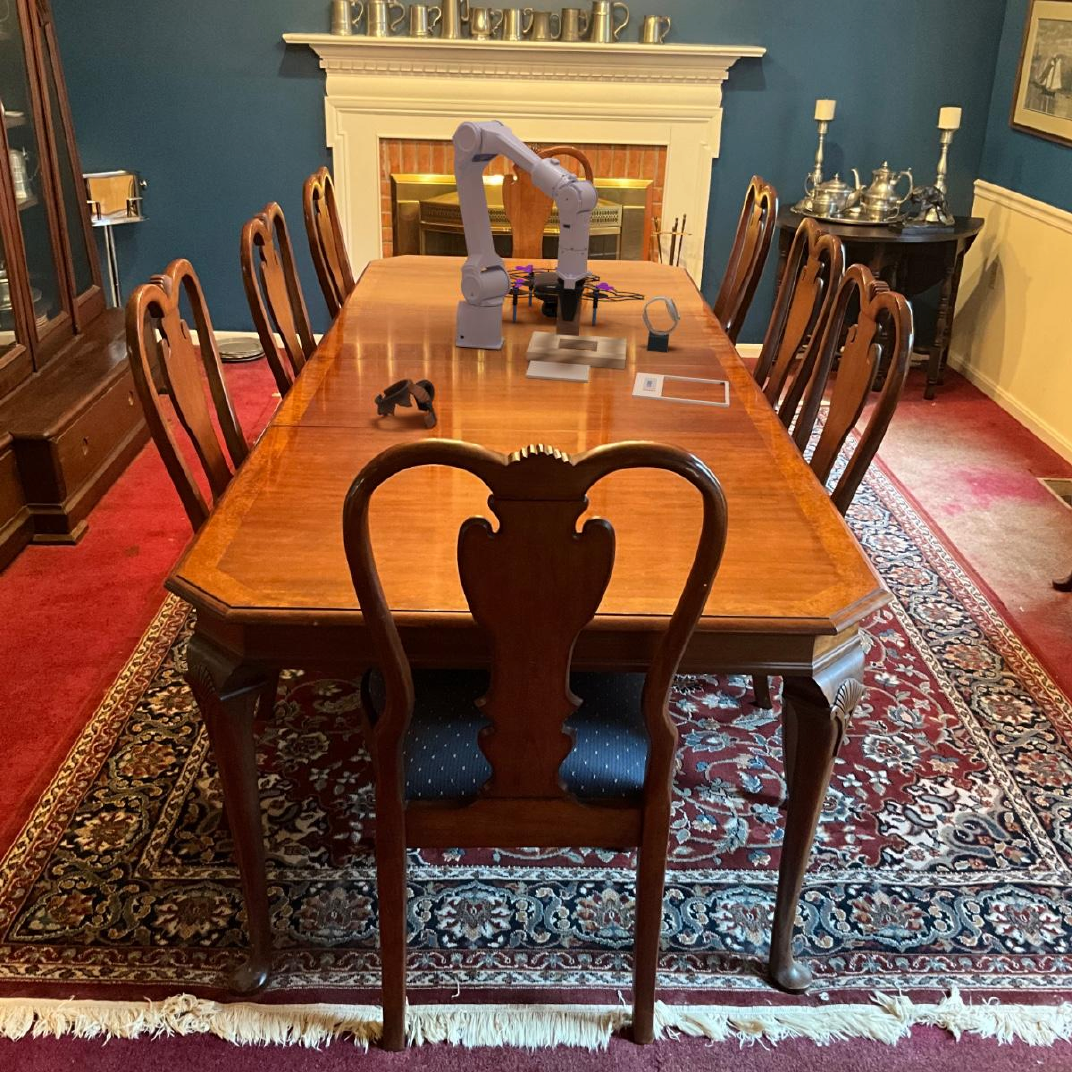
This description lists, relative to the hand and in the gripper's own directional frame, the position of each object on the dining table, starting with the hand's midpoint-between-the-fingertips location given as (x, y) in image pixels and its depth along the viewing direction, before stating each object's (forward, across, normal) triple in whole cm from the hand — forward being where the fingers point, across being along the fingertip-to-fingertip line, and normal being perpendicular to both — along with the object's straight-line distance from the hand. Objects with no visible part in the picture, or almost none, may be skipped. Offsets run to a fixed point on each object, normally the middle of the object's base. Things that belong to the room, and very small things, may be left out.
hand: (568, 317), depth 210 cm
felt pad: (+10, -4, +1) cm, 11 cm away
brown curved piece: (+10, -38, +24) cm, 46 cm away
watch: (+10, +19, -19) cm, 29 cm away
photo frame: (+11, -10, -23) cm, 27 cm away
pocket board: (+10, +10, -2) cm, 14 cm away
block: (+3, 0, 0) cm, 3 cm away
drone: (+10, +42, +6) cm, 43 cm away
